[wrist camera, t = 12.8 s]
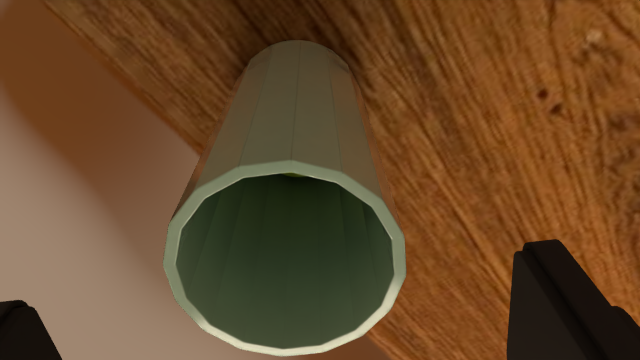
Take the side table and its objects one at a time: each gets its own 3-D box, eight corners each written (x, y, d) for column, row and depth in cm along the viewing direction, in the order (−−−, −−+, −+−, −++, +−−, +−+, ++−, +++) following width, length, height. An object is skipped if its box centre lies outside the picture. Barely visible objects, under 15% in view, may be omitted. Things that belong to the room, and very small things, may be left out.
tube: (223, 48, 21) (132, 179, 10) (353, 31, 21) (399, 146, 10) (248, 165, 23) (197, 366, 13) (364, 151, 23) (410, 343, 13)
